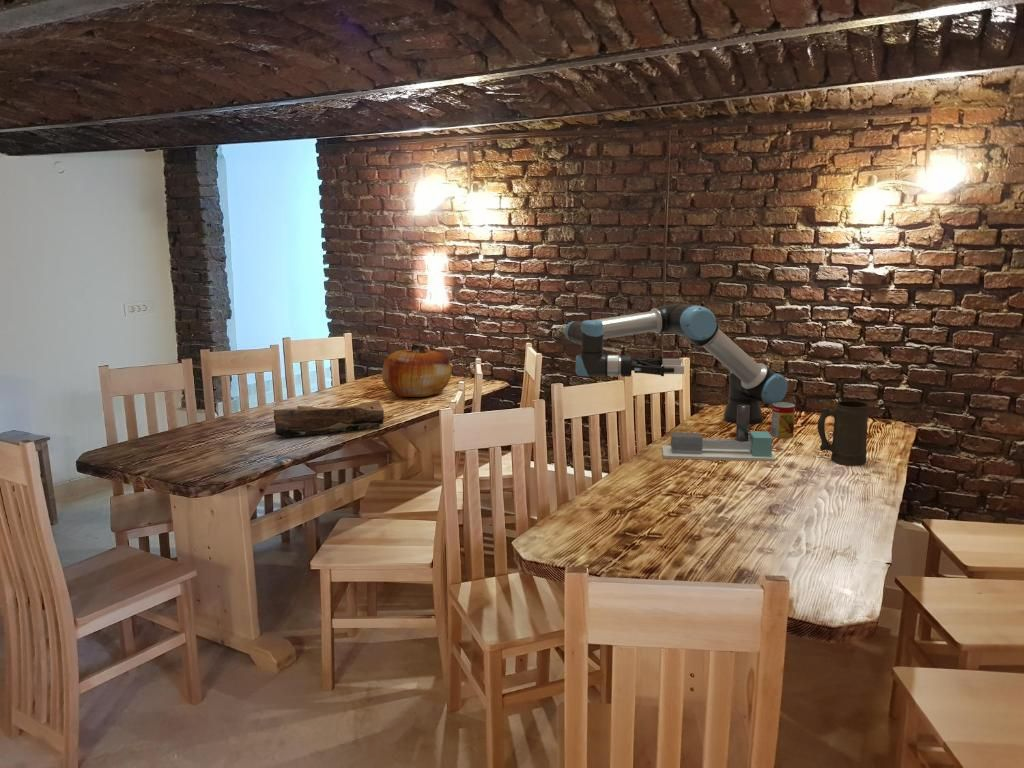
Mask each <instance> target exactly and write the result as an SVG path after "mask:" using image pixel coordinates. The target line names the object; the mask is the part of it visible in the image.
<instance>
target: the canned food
mask: <svg viewBox="0 0 1024 768" xmlns="http://www.w3.org/2000/svg"><path fill="white" fill-rule="evenodd" d="M771 405H772V406H771V407H772V409H771V427H770V435H771V437H772V438H775V439H781V440H790V439H793V438H794V430H795V415H796V414H795V413H796V404H794V403H791V402H784V401H783V402H782V401H780V402H777V403H773V404H771Z"/></svg>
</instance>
